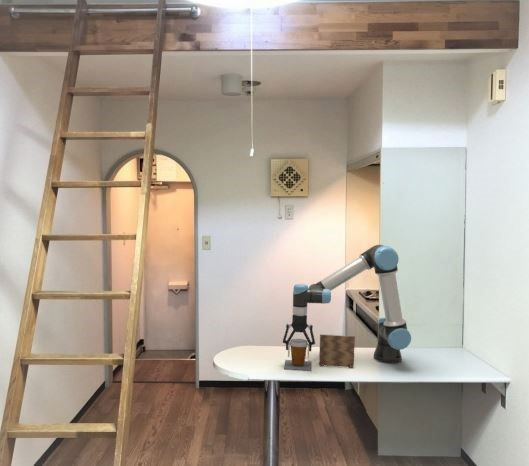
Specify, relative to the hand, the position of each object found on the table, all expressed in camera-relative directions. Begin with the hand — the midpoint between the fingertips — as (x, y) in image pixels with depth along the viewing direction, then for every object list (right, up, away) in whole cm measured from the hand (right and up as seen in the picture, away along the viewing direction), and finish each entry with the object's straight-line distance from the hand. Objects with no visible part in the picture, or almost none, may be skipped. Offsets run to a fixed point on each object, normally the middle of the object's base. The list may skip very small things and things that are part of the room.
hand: (298, 356), depth 254 cm
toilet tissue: (+19, -4, +23) cm, 31 cm away
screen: (+20, -5, +2) cm, 21 cm away
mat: (0, -5, 0) cm, 5 cm away
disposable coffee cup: (0, -4, 0) cm, 4 cm away
